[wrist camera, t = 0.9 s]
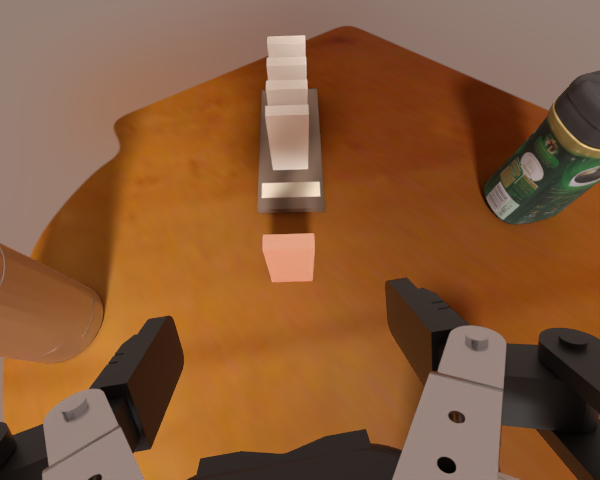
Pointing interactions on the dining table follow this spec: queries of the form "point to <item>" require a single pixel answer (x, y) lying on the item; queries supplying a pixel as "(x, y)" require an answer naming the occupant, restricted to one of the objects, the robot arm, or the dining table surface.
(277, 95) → the domino
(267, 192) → the domino board
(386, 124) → the dining table surface
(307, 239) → the domino
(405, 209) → the dining table surface
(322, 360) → the dining table surface
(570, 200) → the coffee jar
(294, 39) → the domino
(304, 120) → the domino
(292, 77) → the domino
